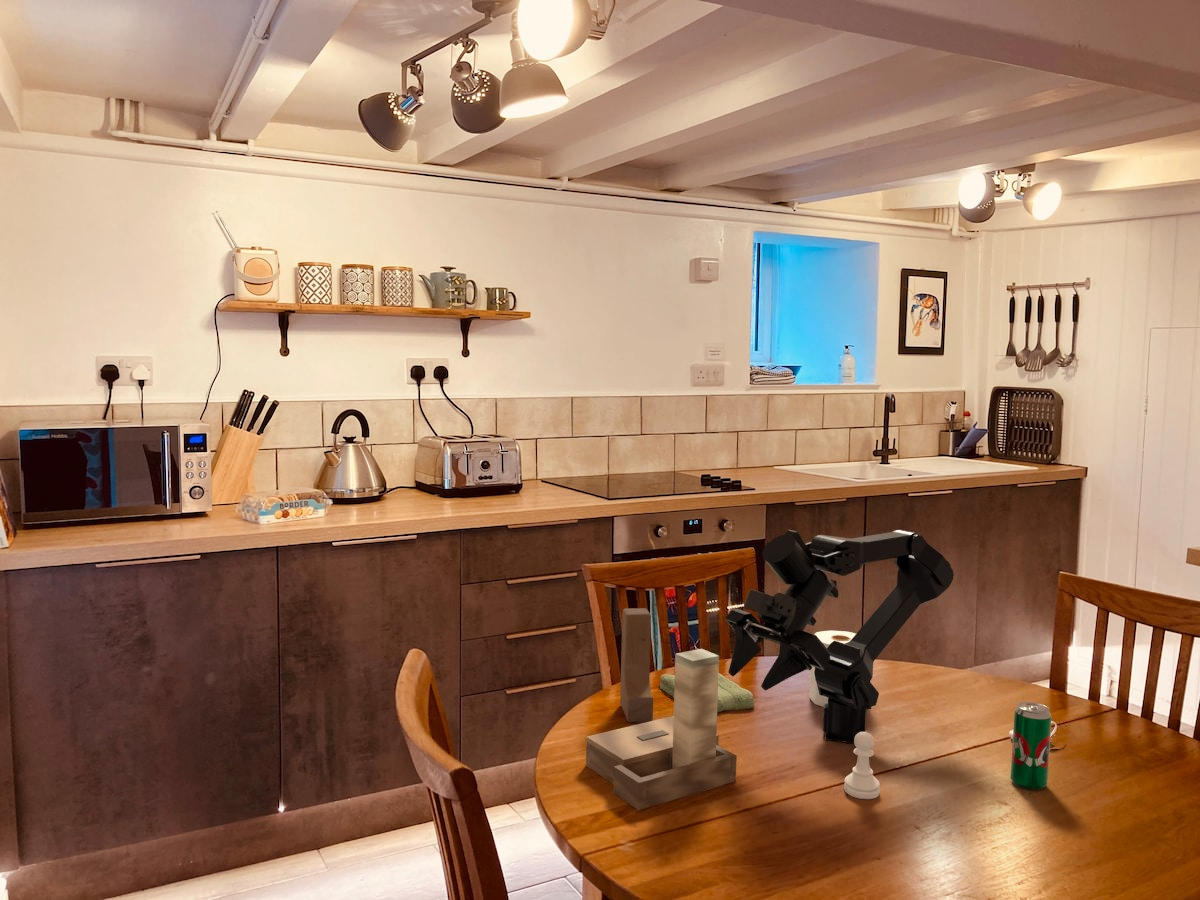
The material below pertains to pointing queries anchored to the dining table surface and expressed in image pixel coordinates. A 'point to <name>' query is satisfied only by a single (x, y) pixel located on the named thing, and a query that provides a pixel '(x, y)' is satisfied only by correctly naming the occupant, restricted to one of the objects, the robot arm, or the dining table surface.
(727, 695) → the washcloth
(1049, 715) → the soda can
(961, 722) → the dining table surface
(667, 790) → the box with sliding lid
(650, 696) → the wooden block
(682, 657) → the tall beige rectangular block
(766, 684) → the robot arm
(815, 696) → the toilet paper
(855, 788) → the chess pawn
